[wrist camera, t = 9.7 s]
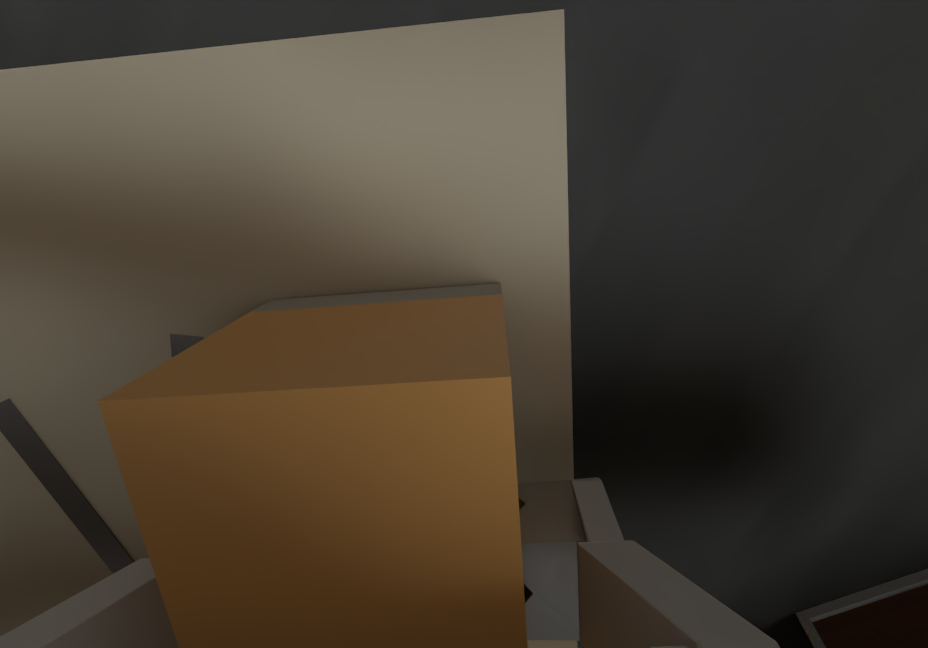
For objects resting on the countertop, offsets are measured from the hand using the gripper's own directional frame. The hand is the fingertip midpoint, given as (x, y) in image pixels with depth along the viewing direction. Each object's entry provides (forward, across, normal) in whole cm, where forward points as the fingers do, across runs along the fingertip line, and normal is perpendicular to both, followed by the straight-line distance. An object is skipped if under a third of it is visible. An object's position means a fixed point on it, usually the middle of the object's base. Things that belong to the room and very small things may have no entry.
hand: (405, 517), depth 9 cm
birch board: (+2, +4, +3) cm, 5 cm away
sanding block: (+1, 0, 0) cm, 1 cm away
